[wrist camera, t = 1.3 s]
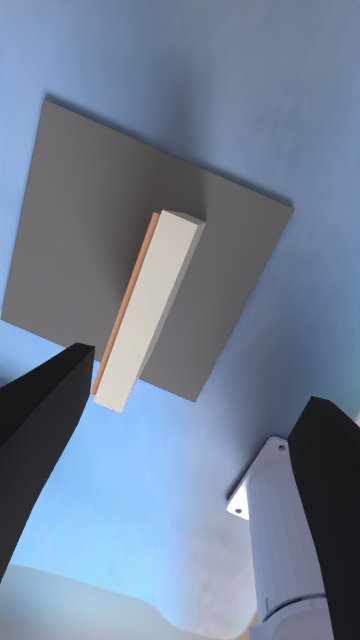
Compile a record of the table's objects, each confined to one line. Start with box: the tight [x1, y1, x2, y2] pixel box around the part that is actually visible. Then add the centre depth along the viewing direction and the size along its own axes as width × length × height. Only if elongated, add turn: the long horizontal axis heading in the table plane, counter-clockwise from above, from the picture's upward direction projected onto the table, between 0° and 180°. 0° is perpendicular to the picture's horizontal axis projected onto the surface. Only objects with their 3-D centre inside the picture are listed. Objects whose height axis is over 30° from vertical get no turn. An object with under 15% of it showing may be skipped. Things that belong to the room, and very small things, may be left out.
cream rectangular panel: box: [90, 210, 206, 413], centre depth 16 cm, size 2×9×7 cm, turn 158°
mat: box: [0, 99, 294, 403], centre depth 19 cm, size 15×14×1 cm
